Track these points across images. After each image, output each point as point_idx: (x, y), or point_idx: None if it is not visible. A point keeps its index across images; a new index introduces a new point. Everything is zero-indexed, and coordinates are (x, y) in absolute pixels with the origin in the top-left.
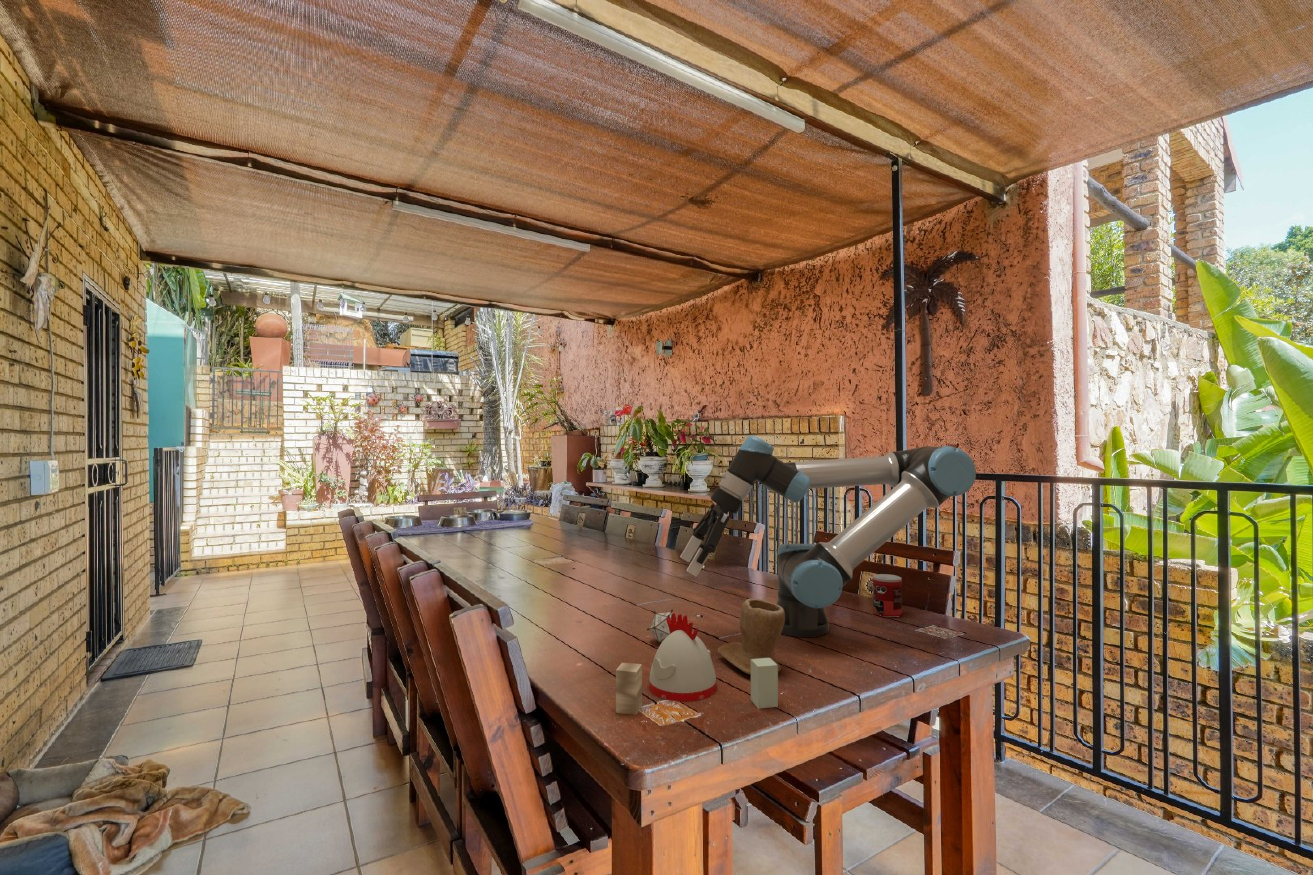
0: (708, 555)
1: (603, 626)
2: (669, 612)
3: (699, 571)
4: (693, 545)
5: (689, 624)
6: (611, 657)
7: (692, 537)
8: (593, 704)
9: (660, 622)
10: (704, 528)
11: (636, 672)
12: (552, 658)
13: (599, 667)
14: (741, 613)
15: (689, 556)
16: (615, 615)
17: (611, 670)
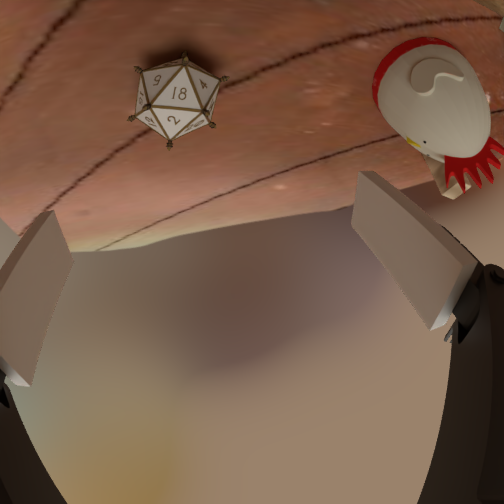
0: (464, 252)
1: (94, 184)
2: (155, 110)
3: (390, 185)
4: (25, 310)
5: (497, 166)
6: (261, 156)
7: (31, 375)
8: (405, 172)
9: (207, 119)
10: (36, 485)
11: (470, 185)
12: (251, 210)
13: (301, 167)
14: (494, 11)
15: (46, 243)
16: (31, 183)
17: (319, 155)
